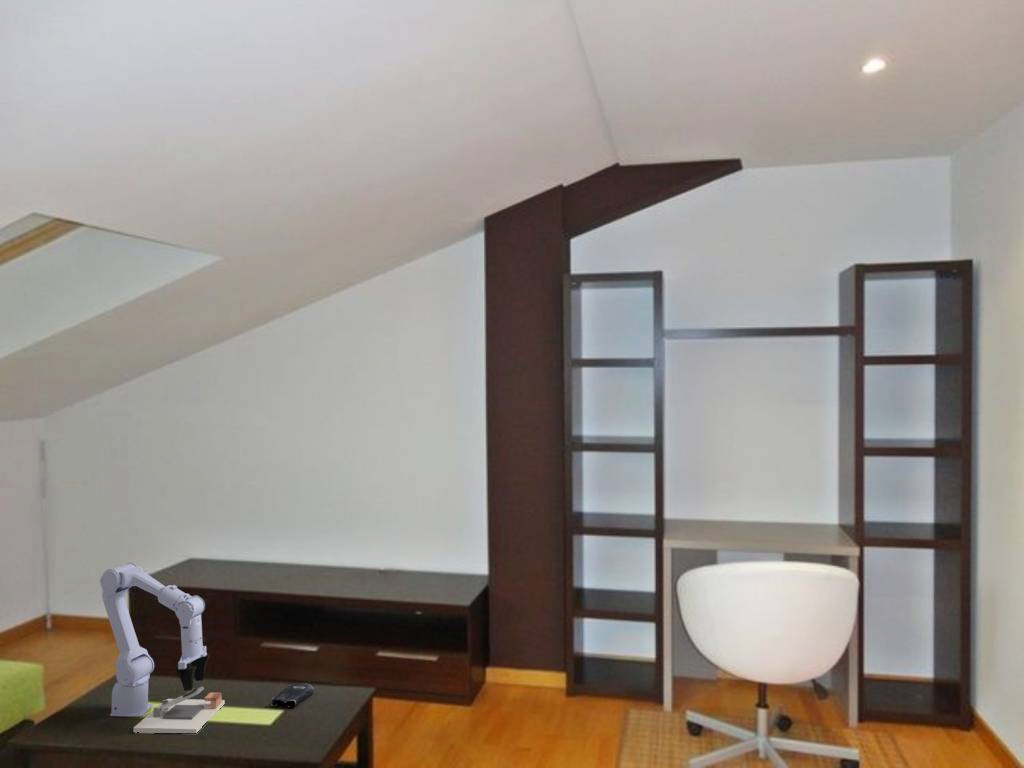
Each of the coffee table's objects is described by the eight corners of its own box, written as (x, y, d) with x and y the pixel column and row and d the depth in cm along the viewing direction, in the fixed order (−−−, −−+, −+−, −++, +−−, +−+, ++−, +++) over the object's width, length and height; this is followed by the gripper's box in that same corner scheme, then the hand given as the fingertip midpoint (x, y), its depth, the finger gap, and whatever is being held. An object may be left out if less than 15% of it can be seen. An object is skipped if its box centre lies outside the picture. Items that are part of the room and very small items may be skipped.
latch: (204, 707, 227) (204, 697, 228) (210, 702, 231) (210, 692, 232) (216, 708, 227) (216, 698, 227) (221, 702, 231) (221, 692, 231)
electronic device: (298, 715, 232) (319, 689, 246) (295, 698, 231) (316, 673, 246) (270, 716, 233) (292, 690, 248) (267, 699, 233) (289, 674, 247)
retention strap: (156, 713, 222) (154, 708, 222) (163, 708, 226) (160, 702, 226) (198, 694, 222) (196, 689, 222) (204, 689, 226) (202, 684, 226)
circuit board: (133, 733, 214) (133, 718, 214) (167, 703, 234) (167, 690, 234) (196, 734, 214) (196, 719, 214) (224, 705, 234) (224, 691, 234)
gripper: (194, 646, 217) (196, 694, 217) (215, 630, 232) (217, 675, 231) (170, 647, 217) (172, 695, 217) (192, 632, 232) (194, 676, 232)
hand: (194, 685), depth 224 cm, fingers open, 7 cm apart
